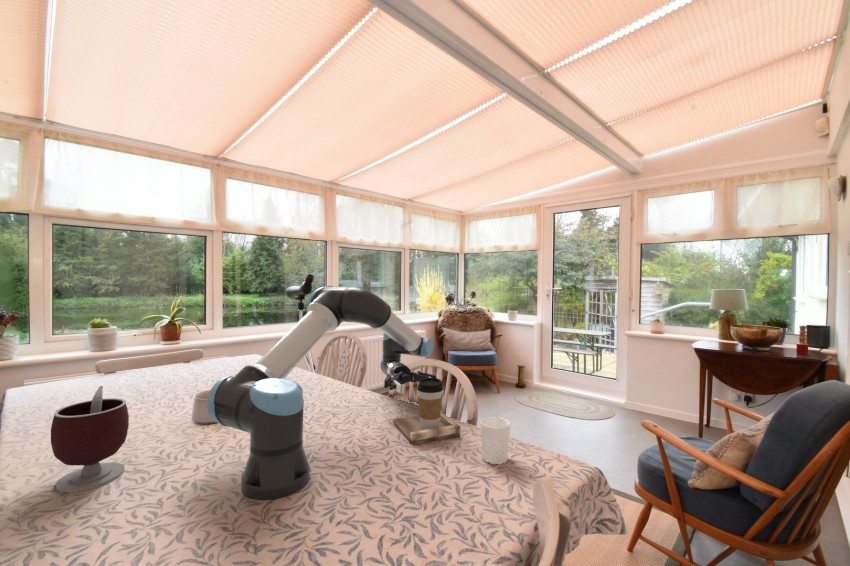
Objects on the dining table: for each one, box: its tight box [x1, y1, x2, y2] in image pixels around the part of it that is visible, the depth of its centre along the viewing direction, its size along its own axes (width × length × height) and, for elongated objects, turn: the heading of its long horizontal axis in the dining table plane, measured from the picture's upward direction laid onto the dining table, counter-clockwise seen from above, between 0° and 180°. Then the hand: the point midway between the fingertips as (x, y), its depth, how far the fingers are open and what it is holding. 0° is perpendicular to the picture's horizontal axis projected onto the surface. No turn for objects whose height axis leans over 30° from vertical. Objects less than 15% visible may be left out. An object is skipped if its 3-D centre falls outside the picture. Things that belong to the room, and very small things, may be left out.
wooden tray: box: [392, 411, 461, 446], centre depth 120 cm, size 16×18×3 cm
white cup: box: [480, 416, 511, 465], centre depth 101 cm, size 8×8×10 cm
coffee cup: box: [416, 377, 444, 430], centre depth 118 cm, size 8×8×15 cm
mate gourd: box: [50, 385, 130, 493], centre depth 89 cm, size 16×14×20 cm
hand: (419, 387), depth 128 cm, fingers open, 13 cm apart
